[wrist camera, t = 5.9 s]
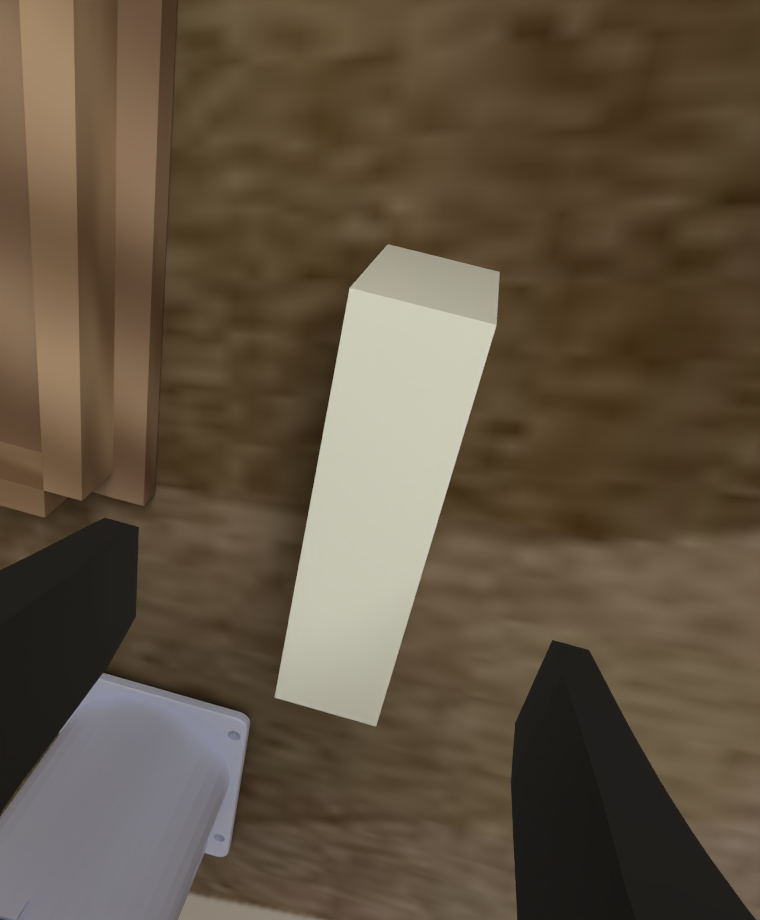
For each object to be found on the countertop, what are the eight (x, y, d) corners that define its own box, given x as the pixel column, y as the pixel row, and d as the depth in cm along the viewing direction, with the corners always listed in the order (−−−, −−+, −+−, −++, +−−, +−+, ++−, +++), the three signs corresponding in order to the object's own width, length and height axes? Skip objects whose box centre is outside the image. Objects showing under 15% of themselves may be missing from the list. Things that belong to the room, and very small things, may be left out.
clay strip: (400, 611, 23) (376, 726, 19) (318, 588, 24) (274, 697, 19) (499, 270, 18) (496, 324, 13) (389, 242, 18) (349, 287, 13)
